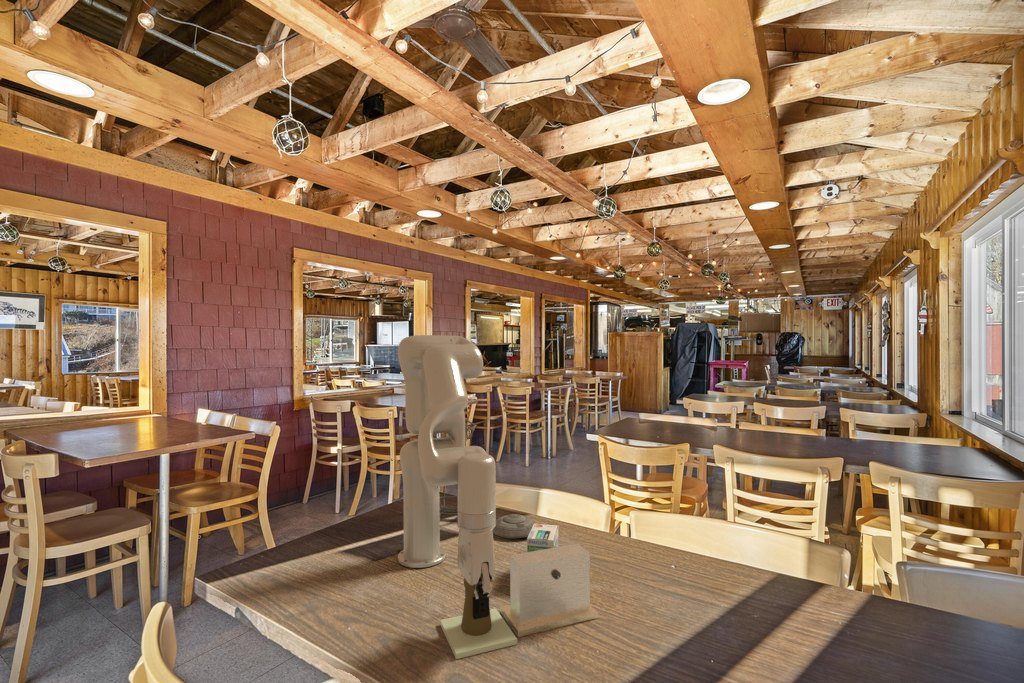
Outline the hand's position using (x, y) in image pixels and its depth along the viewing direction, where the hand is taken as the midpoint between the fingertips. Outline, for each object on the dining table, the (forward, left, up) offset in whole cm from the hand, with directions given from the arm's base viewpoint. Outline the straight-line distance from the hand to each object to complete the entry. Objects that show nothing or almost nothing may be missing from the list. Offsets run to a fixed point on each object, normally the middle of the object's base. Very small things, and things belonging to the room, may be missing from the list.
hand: (477, 610), depth 98 cm
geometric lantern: (-69, +13, -5) cm, 70 cm away
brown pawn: (-1, 0, -4) cm, 4 cm away
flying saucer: (-47, +27, -5) cm, 54 cm away
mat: (0, 0, -5) cm, 5 cm away
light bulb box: (-18, +23, -5) cm, 30 cm away
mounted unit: (-1, +16, -5) cm, 17 cm away
